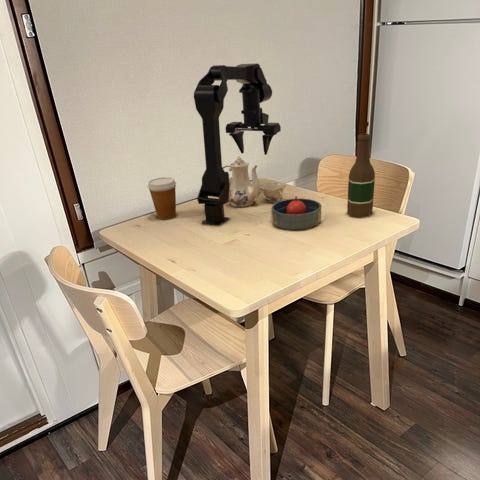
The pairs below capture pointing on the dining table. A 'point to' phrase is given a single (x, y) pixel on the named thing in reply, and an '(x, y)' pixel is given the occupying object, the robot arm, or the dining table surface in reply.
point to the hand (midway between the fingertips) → (254, 153)
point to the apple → (296, 207)
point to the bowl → (296, 215)
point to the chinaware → (249, 186)
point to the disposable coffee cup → (163, 196)
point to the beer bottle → (361, 181)
